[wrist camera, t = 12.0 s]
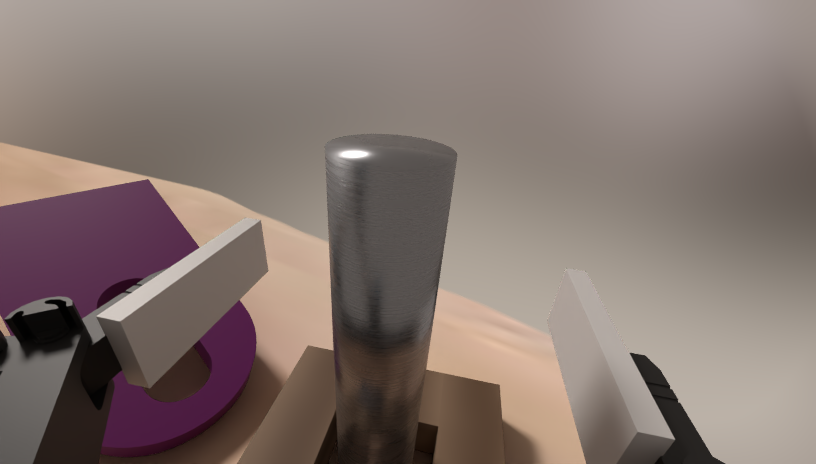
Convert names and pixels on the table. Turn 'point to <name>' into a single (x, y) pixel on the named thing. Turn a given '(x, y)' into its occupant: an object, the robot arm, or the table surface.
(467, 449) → the collar
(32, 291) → the mounting bracket
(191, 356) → the table surface
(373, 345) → the peg
